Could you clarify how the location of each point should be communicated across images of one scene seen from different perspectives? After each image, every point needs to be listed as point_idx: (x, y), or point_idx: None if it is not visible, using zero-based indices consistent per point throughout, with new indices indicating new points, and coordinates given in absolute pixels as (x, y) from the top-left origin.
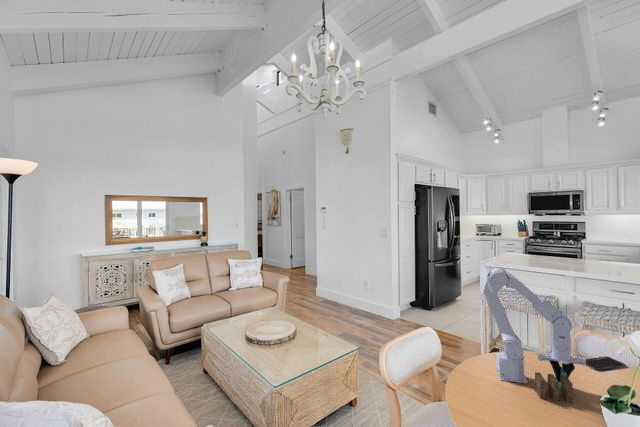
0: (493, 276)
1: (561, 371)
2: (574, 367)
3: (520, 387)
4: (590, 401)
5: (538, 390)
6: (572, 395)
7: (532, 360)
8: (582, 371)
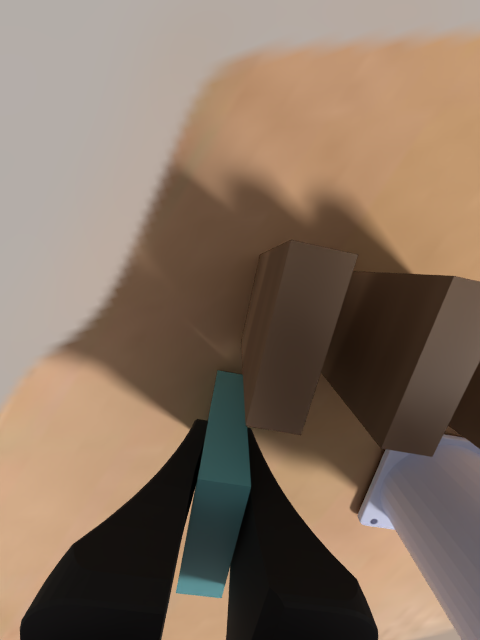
0: None
1: (235, 507)
2: (43, 592)
3: None
4: (135, 285)
5: None
6: (266, 252)
7: (224, 612)
8: (23, 548)
